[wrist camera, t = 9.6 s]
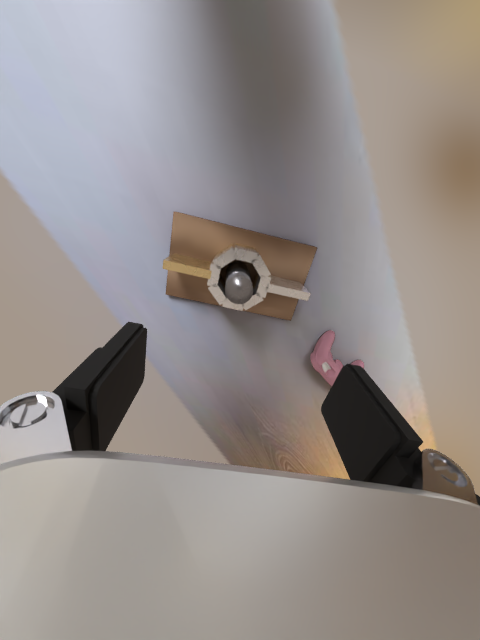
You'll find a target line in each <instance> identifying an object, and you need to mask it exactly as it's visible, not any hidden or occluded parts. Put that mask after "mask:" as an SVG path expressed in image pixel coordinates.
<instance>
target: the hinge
mask: <svg viewBox="0 0 480 640" xmlns="http://www.w3.org/2000/svg"><path fill="white" fill-rule="evenodd" d="M235 259H237V260H241V261H245V262H249V263H252V264H253V265H254V267H255V269H256V270H257V271H256V275H255V279H254V282H253V283H252V286H253V295H252V297H251V299H250V300H249V301H248V302H246V303H244V304H235V303H232V302H231V301H229V300H228V298H227V297H226V294H225V286H226V283H225V282H224V280H223V279H222V277H221V276H220V273H221V268H222V267H224V266H225V265H227V264H228V263H230V262H232V261H233V260H235ZM163 269H167V270H171V271H176V272H180V273H185V274H189V275H194V276H198V277H203V278H207V279H208V282H207V285H208V289H209V291H210V292H211V293H212V295H213V296H214V298H215V299H216V301H217V302H218V303H219V305H221V304H223V305H222V307H226V308H230V309H235V310H240V311H243V308H244V309H245V311H246V310H247V309H249V308H251V307H253V306H254V305H256V304H258V303H259V302H261V301H263V298H265V297H266V294H267V292H270V293H275V294H279V295H283V296H288V297H292V298H297V299H301V300H306V301H308V299H309V297H310V294H311V293H310V292H309V291H308V290H307V289H306V288H305V287H304V286H303V285H302V284H301V283H300V282H296V281H292V280H287V279H283V278H279V277H274V276H270V275H271V274H270V272H269V270H268V268H267V267H266V265H265V263H264V261H263V260H262V258H261V256H260V254H259V253H258V251H257V250H255V248H253V247H249V246H245V245H241V244H237V243H235V246H234V245H233V244H231V245H229V246H228V247H226V248H225V249H223V250H222V251H220V252H219V253H217V254H216V255H215V257H214V259H213V260H212V262H210V261H205V260H201V259H197V258H192V257H188V256H184V255H179V254H173V255H171V256H169V257H168V258H166V259H164V261H163Z"/></svg>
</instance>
